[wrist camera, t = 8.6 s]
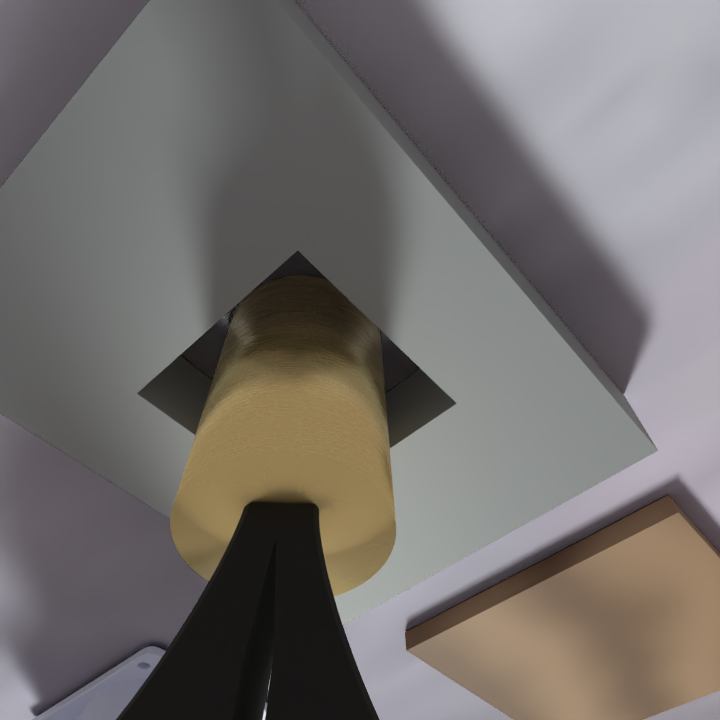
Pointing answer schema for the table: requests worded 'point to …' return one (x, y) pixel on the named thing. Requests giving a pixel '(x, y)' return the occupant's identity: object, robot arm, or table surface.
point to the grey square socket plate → (261, 258)
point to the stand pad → (592, 626)
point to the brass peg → (294, 431)
